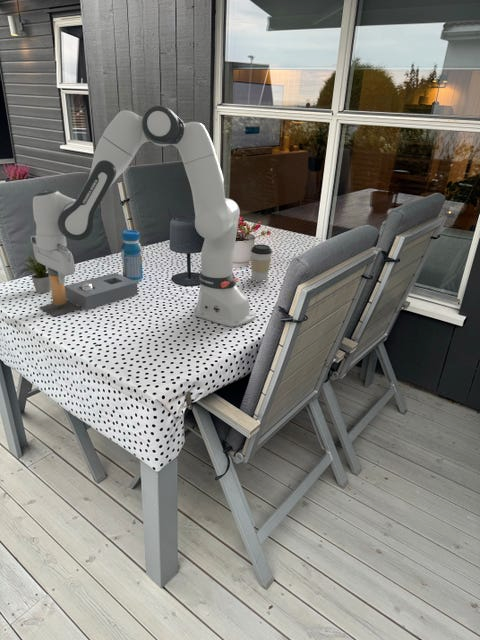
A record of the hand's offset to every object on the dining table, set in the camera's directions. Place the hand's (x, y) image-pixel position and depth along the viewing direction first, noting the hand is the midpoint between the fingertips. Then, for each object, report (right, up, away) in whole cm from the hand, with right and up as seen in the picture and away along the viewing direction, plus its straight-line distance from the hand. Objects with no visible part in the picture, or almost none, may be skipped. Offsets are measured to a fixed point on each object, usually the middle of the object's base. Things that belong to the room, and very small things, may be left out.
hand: (57, 280), depth 153 cm
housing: (+11, -4, +16) cm, 20 cm away
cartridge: (0, -7, +3) cm, 8 cm away
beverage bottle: (+18, +4, +35) cm, 39 cm away
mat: (-1, -9, +4) cm, 10 cm away
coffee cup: (+71, +4, +43) cm, 83 cm away
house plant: (-12, -3, +17) cm, 21 cm away
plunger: (+7, -5, +12) cm, 15 cm away
